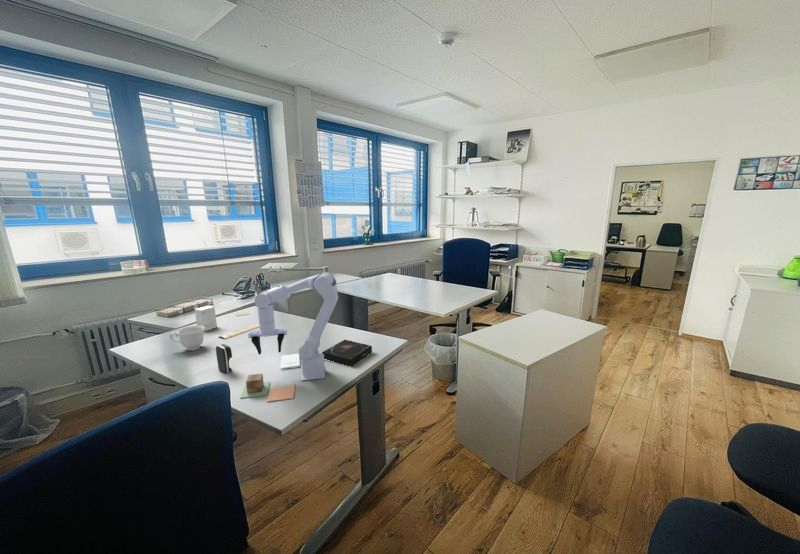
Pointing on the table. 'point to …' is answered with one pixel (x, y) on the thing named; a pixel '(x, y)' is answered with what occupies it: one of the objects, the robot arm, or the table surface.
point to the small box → (206, 317)
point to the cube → (254, 383)
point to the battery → (223, 357)
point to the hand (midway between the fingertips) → (269, 352)
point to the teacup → (190, 337)
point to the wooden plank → (240, 331)
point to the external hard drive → (290, 361)
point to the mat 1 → (264, 392)
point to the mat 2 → (281, 393)
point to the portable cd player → (347, 352)
